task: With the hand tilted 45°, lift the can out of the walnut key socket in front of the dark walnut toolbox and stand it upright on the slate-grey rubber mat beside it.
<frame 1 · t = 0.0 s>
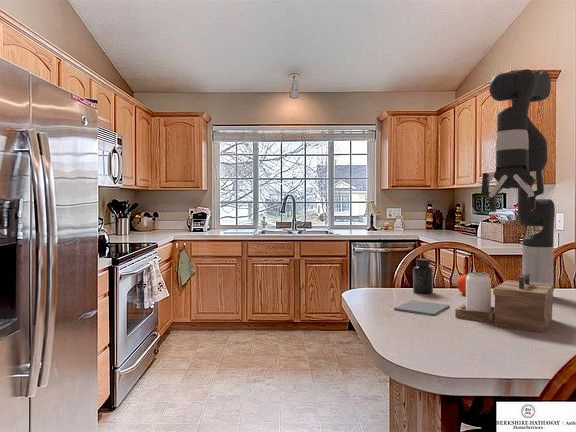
hand: (511, 211, 114), 29 cm above the counter, tool pointing down, fingers open, 8 cm apart
can: (478, 317, 123), resting in toolbox
clementine: (468, 295, 154), on the counter
toolbox: (478, 316, 123), on the counter
supplement bottle: (423, 293, 158), on the counter
mat: (422, 308, 133), on the counter
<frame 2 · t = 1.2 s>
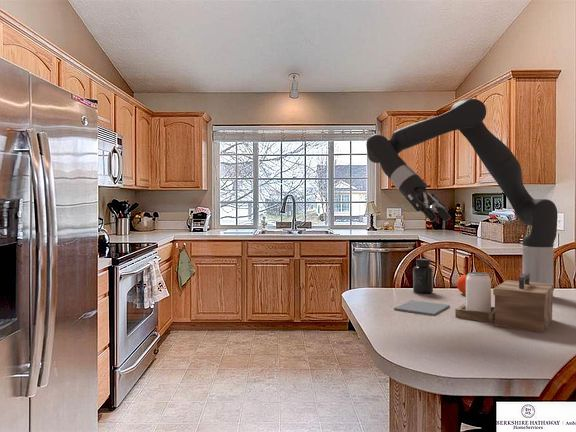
hand: (441, 219, 131), 27 cm above the counter, tool tilted 45°, fingers open, 8 cm apart
nothing on the counter moved.
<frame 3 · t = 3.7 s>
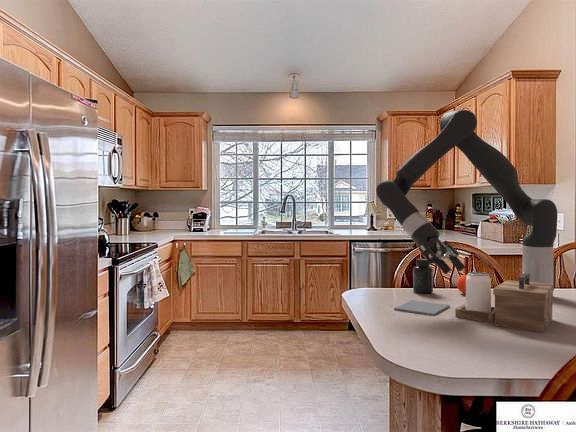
hand: (455, 270, 128), 12 cm above the counter, tool tilted 45°, fingers open, 8 cm apart
nothing on the counter moved.
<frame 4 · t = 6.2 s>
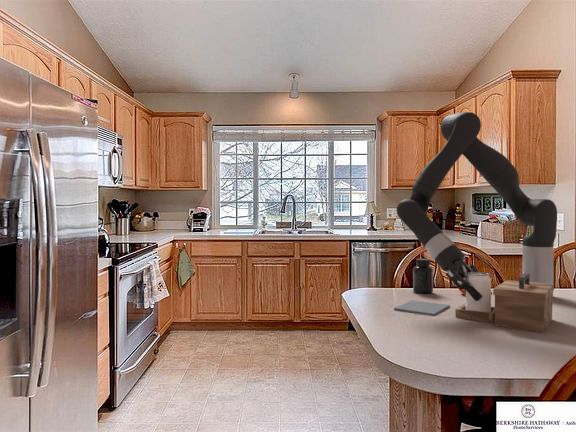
hand: (484, 297, 122), 6 cm above the counter, tool tilted 45°, fingers closed on can, 6 cm apart
can: (478, 316, 123), resting in toolbox, touching gripper
everything else where it was.
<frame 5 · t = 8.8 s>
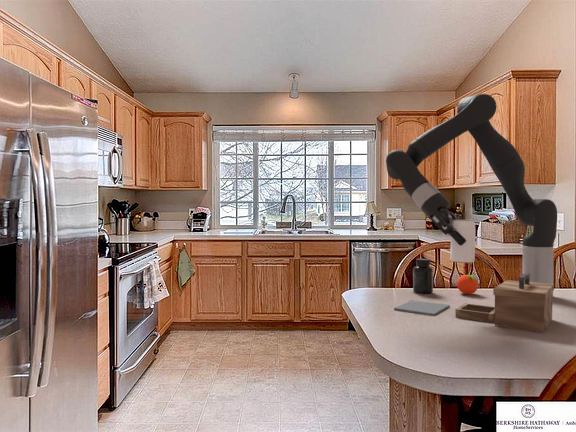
hand: (468, 242, 124), 21 cm above the counter, tool tilted 45°, fingers closed on can, 6 cm apart
can: (462, 262, 125), point 15 cm above the counter, touching gripper
everything else where it was.
when the fingers open (7 cm above the counter, at t = 11.9 s): can drops 1 cm, resting on mat.
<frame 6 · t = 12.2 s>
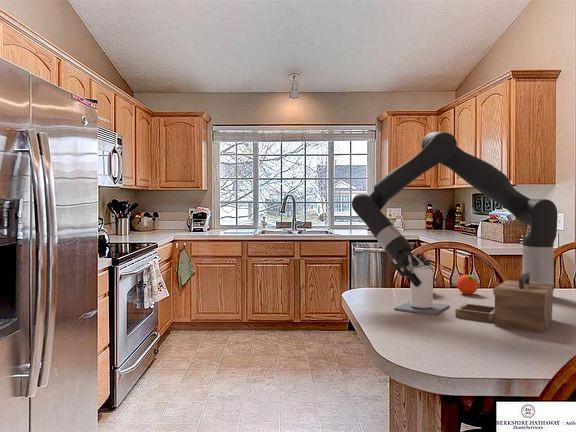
hand: (426, 283, 132), 8 cm above the counter, tool tilted 45°, fingers open, 8 cm apart
can: (421, 307, 132), point 1 cm above the counter, touching gripper, mat
everything else where it was.
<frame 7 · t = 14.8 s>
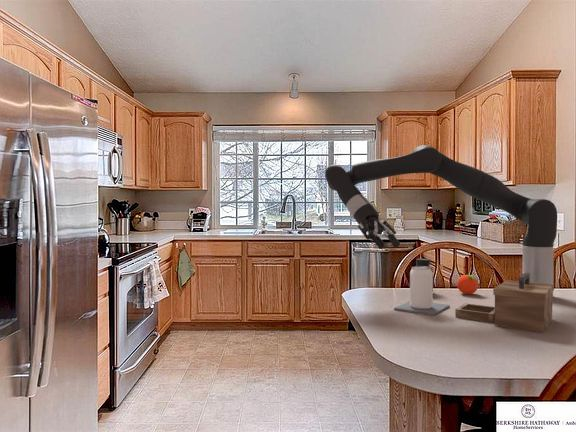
hand: (390, 246, 141), 18 cm above the counter, tool tilted 45°, fingers open, 8 cm apart
can: (421, 307, 132), resting on mat
everything else where it was.
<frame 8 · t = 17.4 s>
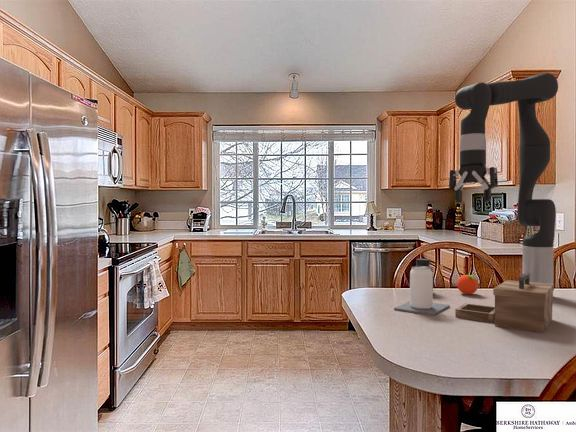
hand: (472, 202, 136), 32 cm above the counter, tool pointing down, fingers open, 8 cm apart
nothing on the counter moved.
at the end: can inside the target area (1.1 cm from its centre), resting on mat; can tilted 0°; the gripper is holding nothing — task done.
